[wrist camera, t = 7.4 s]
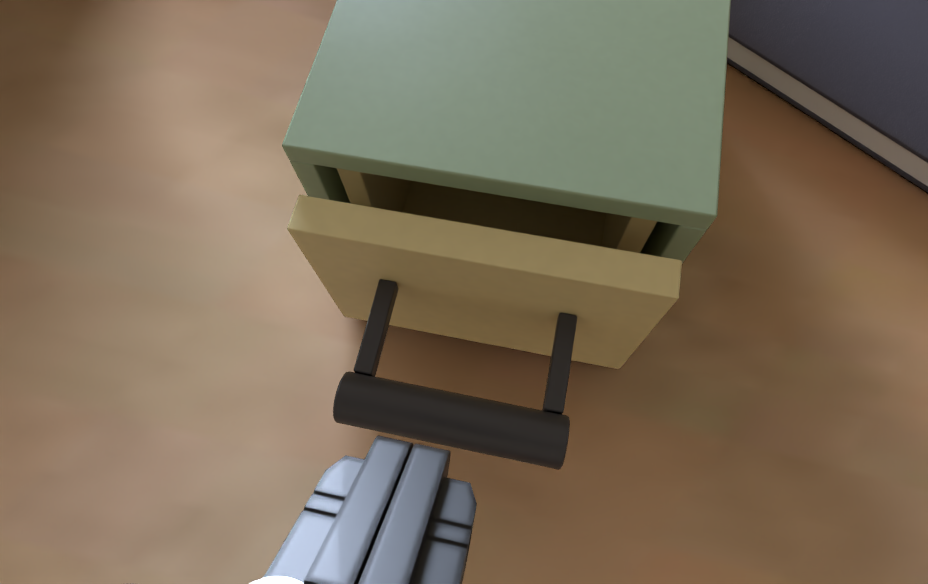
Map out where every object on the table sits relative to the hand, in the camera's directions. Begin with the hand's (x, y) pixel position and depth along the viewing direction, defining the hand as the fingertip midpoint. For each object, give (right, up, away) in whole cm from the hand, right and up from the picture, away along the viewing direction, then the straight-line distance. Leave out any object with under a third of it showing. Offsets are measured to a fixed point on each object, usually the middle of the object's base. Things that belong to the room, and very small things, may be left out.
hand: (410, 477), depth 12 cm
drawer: (+3, +6, +14) cm, 15 cm away
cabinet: (+4, +10, +16) cm, 20 cm away
